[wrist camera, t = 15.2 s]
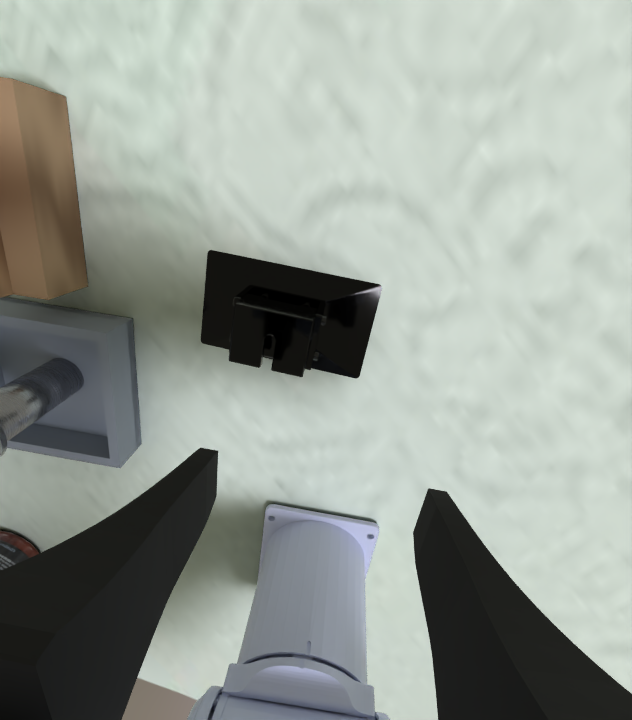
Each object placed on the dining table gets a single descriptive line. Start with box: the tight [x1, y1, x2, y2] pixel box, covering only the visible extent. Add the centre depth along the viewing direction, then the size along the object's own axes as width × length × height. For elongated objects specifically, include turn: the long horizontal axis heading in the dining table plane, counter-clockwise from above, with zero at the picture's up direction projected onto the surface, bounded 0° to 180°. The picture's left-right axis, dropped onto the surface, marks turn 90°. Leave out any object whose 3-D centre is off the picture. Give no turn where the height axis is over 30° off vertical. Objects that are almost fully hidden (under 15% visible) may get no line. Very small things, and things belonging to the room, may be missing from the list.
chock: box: [0, 77, 88, 300], centre depth 17 cm, size 9×3×4 cm, turn 172°
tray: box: [0, 297, 141, 468], centre depth 23 cm, size 9×9×2 cm
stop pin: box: [0, 358, 84, 457], centre depth 20 cm, size 3×3×7 cm
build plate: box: [201, 250, 382, 378], centre depth 19 cm, size 12×7×5 cm, turn 79°
